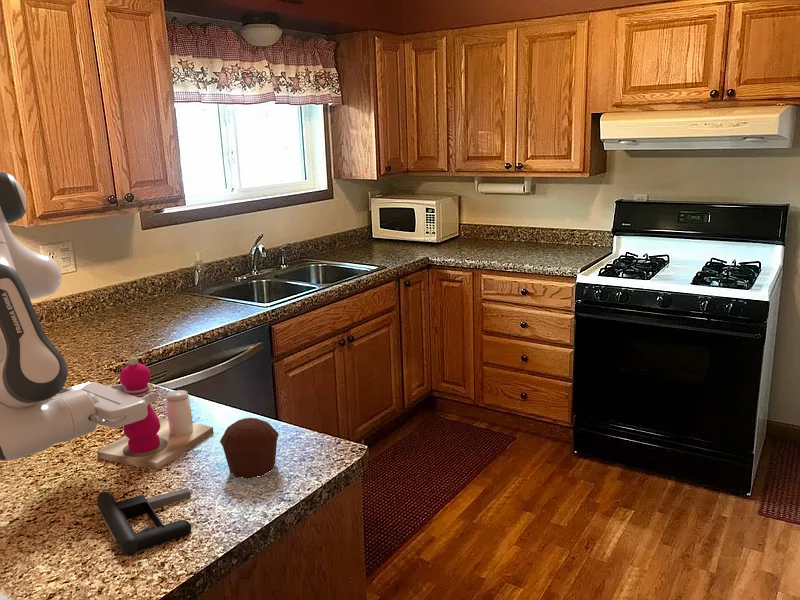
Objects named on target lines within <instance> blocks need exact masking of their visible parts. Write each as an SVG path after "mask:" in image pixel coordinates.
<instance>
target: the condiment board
mask: <svg viewBox="0 0 800 600" xmlns="http://www.w3.org/2000/svg"><path fill="white" fill-rule="evenodd" d="M158 419H159V422H160V429H159V431H158V433H157V434H158V435H159V439H160V445H159V446H158V447H157V448H156V449H154V450H151V451H148V452H144V453H134V452H131V451H130V450H129V447H128V441H129V438H127V437H126V436H125V435H124V436H123V437H121V438H118V439H117V440H115V441H113V442H112V443H110V444H108V445H106V446H105V447H103V448H101V449H99V450H97V451H96V454H97V459H100V460H106V461H111V462H115V463H121V464H127V465H131V466H137V467H141V468H146V469H152V470H156V471H158V470H159V469H162V468H163V467H164V466H166V465H167V464H169V463H170V462H172V461H174V460H175V459H176V458H178V457H179V456H181V455H182V453H183V454H184V453H186V452H187V451H189V450H190V449H192V448H193V447H195V446H196V445H198V444H199V443H201V442H202V441H204V440H205V439H206V438H208V437H211V435H213V434H214V426H209V425H203V424H196V423H193V432H192V433H190V434H188V435H185V436H180V437H175V436H171V435H170V430H169V422H168V418H167V419H165V418H160V417H158ZM203 439H204V440H203ZM200 441H201V442H200ZM197 443H198V444H197ZM191 447H192V448H191ZM188 449H189V450H188Z"/></svg>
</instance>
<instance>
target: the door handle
mask: <svg viewBox="0 0 800 600" xmlns="http://www.w3.org/2000/svg"><path fill="white" fill-rule="evenodd" d="M191 496H192V494H191V490H190V488H188V487H184V488H182V489H178V490H173V491H170V492H167V493H166V492H165V493H162V494H160V495H156V496H155V495H154V496H152V497H148V498H146V497H145V495H144V494H141V495H138V496H137V495H136V496H133V497H130V498H125V499H123V500H118V501H117V500H116V498H115V496H114V495H113V494H111V493H110V492H109V491H102V492H100V493H98V495H97V496H96V503H94V504H91V506H96V505H97V508H98V509H99V512H100V514H101V516H102V518H103V519H104V522H103V523H104V524H105V525H106V527H107V529H108V530H109V533H110V534H111V536H112V538H113V540H114V542H113V545H114V544H117V545H118V547H115V548H113V549H112V550H113V551H114V550H119V549H120V551H121V553H122V554H123V555H125V556H128V557H129V556H134V555H136V554H137V553H138V552H139V551H144V550H146V549H150V548H153V547H156V546H158V545H162V544H165V543H168V542H172V541H175V540H178V539H182V538H185V537H187V536H189V535H190V534H191V532H192V524H191V523H190V522H189V521H188V520H187V519H179V520H176V521H172V522H169V523H165V524H164V523H163V522H162V520H161V519H160V517H159V515H158V514H157V513H156V511H155V510H157V509H159V508H163V507H166V506H168V505H172V504H174V503H177V502H180V501H183V500H186V499H189V498H191ZM146 514H147V516H148V517H149V518H150V519H151V520H150V521H152V523H153V524H154V525H155V527H152V528H151V527H150V525H146V526H145V527H143V528H142V529H140V530H139V531H136V532H135V530H134V528H133V527H132V526H131V523H130V522H129V521H130V520H131V519H135V518H138V517H140V516H141V517H142V516H144V515H146Z"/></svg>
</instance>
